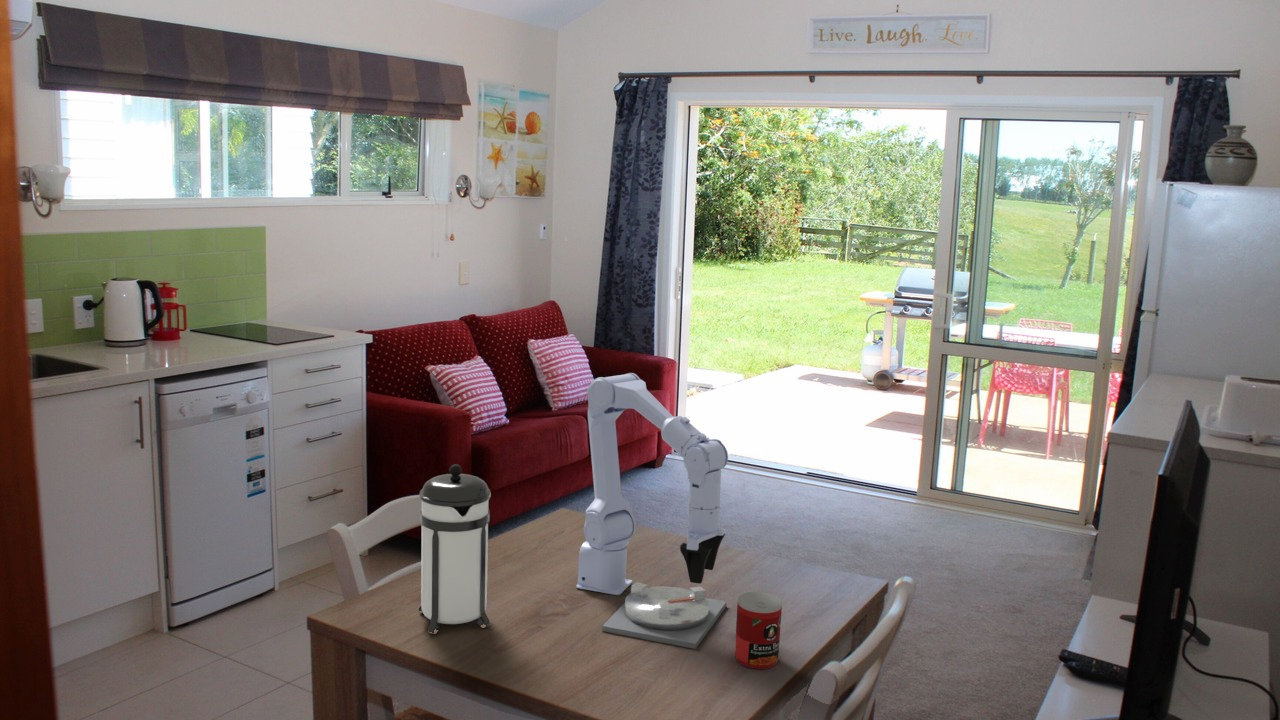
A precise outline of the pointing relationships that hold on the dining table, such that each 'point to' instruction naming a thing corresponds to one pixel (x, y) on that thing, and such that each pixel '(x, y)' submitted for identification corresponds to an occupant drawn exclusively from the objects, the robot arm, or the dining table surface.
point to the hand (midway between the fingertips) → (701, 575)
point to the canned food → (758, 630)
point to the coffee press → (454, 549)
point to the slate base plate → (675, 637)
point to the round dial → (666, 607)
